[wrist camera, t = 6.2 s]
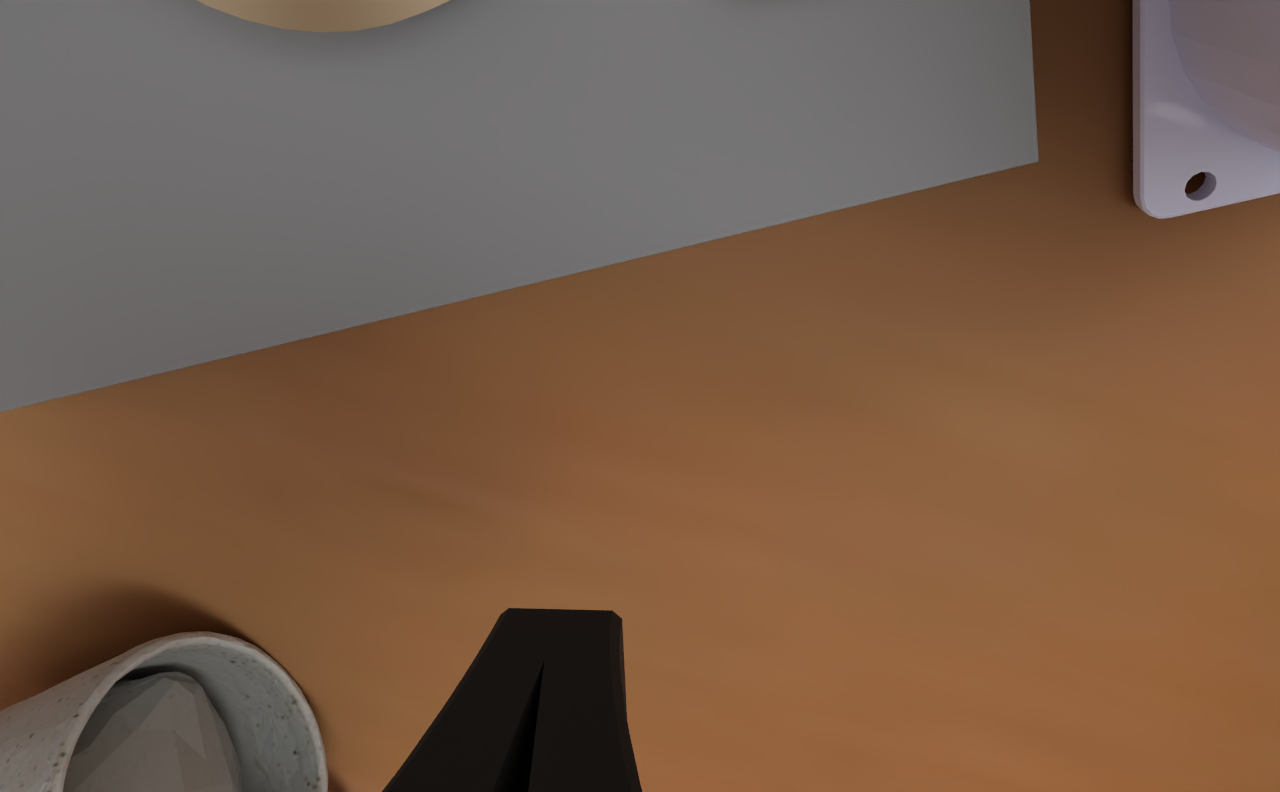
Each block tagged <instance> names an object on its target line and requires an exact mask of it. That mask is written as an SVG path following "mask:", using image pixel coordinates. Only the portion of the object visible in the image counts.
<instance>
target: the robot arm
mask: <svg viewBox="0 0 1280 792" xmlns="http://www.w3.org/2000/svg"><path fill="white" fill-rule="evenodd" d="M1200 172H1205V175H1206V177H1205V181H1204V184H1203V185H1202V186H1201V187H1200V188H1199V189H1198V190H1197V191H1195V192H1193V193H1191V194H1186V193H1185V187H1186V184H1187V182H1188V181H1189V180H1190V179H1191V177H1192V176H1194V175H1196V174H1198V173H1200ZM1279 193H1280V0H1133V195H1134V199H1135V203H1136V205H1137V206H1138V207H1139V208H1140V209H1141V210H1142V211H1144V212H1145V213H1146V214H1148V215H1149V216H1152V217H1155V218H1158V219H1162V218H1172V217H1177V216H1181V215H1185V214H1190V213H1194V212H1199V211H1203V210H1208V209H1212V208H1217V207H1221V206H1226V205H1230V204H1235V203H1239V202H1243V201H1248V200H1252V199H1257V198H1261V197H1266V196H1270V195H1275V194H1279ZM382 792H642V789H641V785H640V781H639V776H638V771H637V767H636V762H635V758H634V753H633V748H632V744H631V739H630V734H629V729H628V723H627V712H626V691H625V671H624V651H623V630H622V618H620V617H619V616H618V615H617V614H616V613H614V612H613V611H604V610H563V609H522V608H508V609H507V610H506V611H505V612H504V613H502V614H501V615H500V617H499V618H498V620H497V622H496V624H495V625H494V627H493V629H492V631H491V632H490V634H489V636H488V638H487V639H486V641H485V643H484V644H483V646H482V648H481V649H480V651H479V653H478V654H477V656H476V657H475V659H474V661H473V662H472V664H471V665H470V667H469V669H468V670H467V672H466V673H465V675H464V677H463V678H462V680H461V681H460V683H459V684H458V686H457V687H456V689H455V690H454V692H453V693H452V695H451V696H450V698H449V699H448V701H447V702H446V704H445V705H444V707H443V708H442V710H441V711H440V713H439V714H438V715H437V717H436V718H435V720H434V721H433V723H432V724H431V725H430V727H429V728H428V730H427V731H426V732H425V734H424V735H423V737H422V738H421V740H420V741H419V742H418V744H417V745H416V747H415V748H414V750H413V751H412V752H411V754H410V755H409V757H408V758H407V759H406V761H405V762H404V764H403V765H402V766H401V768H400V769H399V770H398V772H397V773H396V774H395V776H394V777H393V778H392V779H391V781H390V782H389V783H388V785H387V786H386V787H385V788H384V790H383V791H382Z"/></svg>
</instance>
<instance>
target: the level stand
mask: <svg viewBox="0 0 1280 792" xmlns="http://www.w3.org/2000/svg"><path fill="white" fill-rule="evenodd" d="M1038 161H1039V159H1038V141H1037V123H1036V106H1035V88H1034V70H1033V52H1032V34H1031V16H1030V0H450V1H448V2H446V3H444V4H441V5H439V6H437V7H435V8H432V9H430V10H428V11H426V12H423V13H420V14H418V15H415V16H412V17H409V18H406V19H404V20H401V21H398V22H395V23H392V24H389V25H384V26H379V27H373V28H368V29H363V30H358V31H344V32H321V33H319V32H309V31H298V30H288V29H281V28H277V27H272V26H268V25H264V24H260V23H256V22H251V21H247V20H244V19H241V18H239V17H236V16H233V15H231V14H228V13H225V12H223V11H220V10H217V9H215V8H212V7H209V6H207V5H205V4H203V3H201V2H199V1H197V0H0V412H3V411H7V410H12V409H16V408H20V407H24V406H28V405H32V404H36V403H41V402H45V401H49V400H53V399H57V398H61V397H65V396H70V395H74V394H78V393H82V392H86V391H90V390H94V389H99V388H103V387H107V386H111V385H115V384H119V383H123V382H127V381H132V380H136V379H140V378H144V377H148V376H152V375H156V374H161V373H165V372H169V371H173V370H177V369H181V368H185V367H190V366H194V365H198V364H202V363H206V362H210V361H214V360H219V359H223V358H227V357H231V356H235V355H239V354H243V353H248V352H252V351H256V350H260V349H264V348H268V347H272V346H277V345H281V344H285V343H289V342H293V341H297V340H301V339H306V338H310V337H314V336H318V335H322V334H326V333H330V332H334V331H339V330H343V329H347V328H351V327H355V326H359V325H363V324H368V323H372V322H376V321H380V320H384V319H388V318H392V317H397V316H401V315H405V314H409V313H413V312H417V311H421V310H426V309H430V308H434V307H438V306H442V305H446V304H450V303H455V302H459V301H463V300H467V299H471V298H475V297H479V296H484V295H488V294H492V293H496V292H500V291H504V290H508V289H513V288H517V287H521V286H525V285H529V284H533V283H537V282H541V281H546V280H550V279H554V278H558V277H562V276H566V275H570V274H575V273H579V272H583V271H587V270H591V269H595V268H599V267H604V266H608V265H612V264H616V263H620V262H624V261H628V260H633V259H637V258H641V257H645V256H649V255H653V254H657V253H662V252H666V251H670V250H674V249H678V248H682V247H686V246H691V245H695V244H699V243H703V242H707V241H711V240H715V239H719V238H724V237H728V236H732V235H736V234H740V233H744V232H748V231H753V230H757V229H761V228H765V227H769V226H773V225H777V224H782V223H786V222H790V221H794V220H798V219H802V218H806V217H811V216H815V215H819V214H823V213H827V212H831V211H835V210H840V209H844V208H848V207H852V206H856V205H860V204H864V203H869V202H873V201H877V200H881V199H885V198H889V197H893V196H898V195H902V194H906V193H910V192H914V191H918V190H922V189H926V188H931V187H935V186H939V185H943V184H947V183H951V182H955V181H960V180H964V179H968V178H972V177H976V176H980V175H984V174H989V173H993V172H997V171H1001V170H1005V169H1009V168H1013V167H1018V166H1022V165H1026V164H1030V163H1034V162H1038Z"/></svg>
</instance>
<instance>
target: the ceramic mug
mask: <svg viewBox="0 0 1280 792" xmlns="http://www.w3.org/2000/svg"><path fill="white" fill-rule="evenodd" d="M0 792H328V770H327V762H326V752H325V747H324V744H323V740H322V737H321V733H320V730H319V727H318V724H317V721H316V718H315V715H314V712H313V711H312V709H311V707H310V705H309V704H308V702H307V700H306V699H305V697H304V695H303V693H302V691H301V689H300V688H299V687H298V685H297V684H296V683H295V681H294V680H293V679H292V678H291V677H290V675H289V674H288V673H287V672H286V671H285V669H284V668H283V667H282V666H281V665H279V664H278V663H277V662H276V661H275V660H273V659H272V658H271V657H270V656H268V655H267V654H266V653H265V652H264V651H262V650H261V649H260V648H258V647H257V646H255V645H253V644H251V643H248V642H246V641H244V640H242V639H239V638H237V637H232V636H228V635H224V634H219V633H214V632H210V631H197V632H181V633H176V634H172V635H168V636H164V637H160V638H156V639H153V640H151V641H148V642H146V643H143V644H141V645H138V646H136V647H134V648H132V649H130V650H128V651H127V652H125V653H123V654H121V655H119V656H117V657H114V658H112V659H110V660H108V661H106V662H104V663H101V664H99V665H97V666H95V667H93V668H91V669H89V670H86V671H84V672H82V673H80V674H78V675H76V676H74V677H72V678H70V679H68V680H66V681H64V682H62V683H60V684H57V685H55V686H53V687H51V688H49V689H47V690H45V691H43V692H42V693H40V694H37V695H35V696H33V697H30V698H28V699H25V700H23V701H20V702H18V703H15V704H13V705H11V706H9V707H7V708H5V709H3V710H1V711H0Z"/></svg>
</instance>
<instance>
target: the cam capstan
mask: <svg viewBox="0 0 1280 792" xmlns="http://www.w3.org/2000/svg"><path fill="white" fill-rule="evenodd" d="M197 1H199V2H201V3H203V4H205V5H207V6H209V7H212V8H215V9H217V10H220V11H223V12H225V13H228V14H231V15H233V16H236V17H239V18H241V19H244V20H247V21H251V22H256V23H260V24H264V25H268V26H272V27H277V28H281V29H288V30H298V31H309V32H319V33H321V32H344V31H358V30H363V29H368V28H373V27H379V26H384V25H389V24H392V23H395V22H398V21H401V20H404V19H406V18H409V17H412V16H415V15H418V14H420V13H423V12H426V11H428V10H430V9H432V8H435V7H437V6H439V5H441V4H444V3H446V2H448V1H450V0H197Z"/></svg>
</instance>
